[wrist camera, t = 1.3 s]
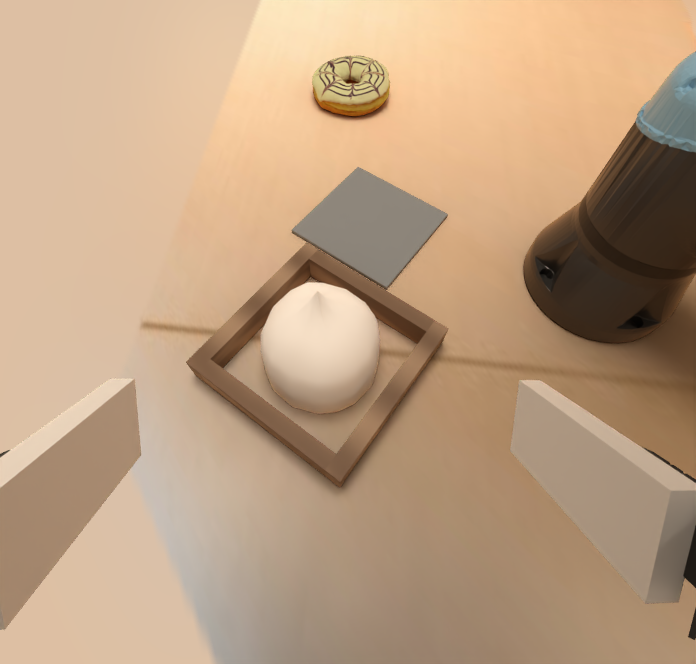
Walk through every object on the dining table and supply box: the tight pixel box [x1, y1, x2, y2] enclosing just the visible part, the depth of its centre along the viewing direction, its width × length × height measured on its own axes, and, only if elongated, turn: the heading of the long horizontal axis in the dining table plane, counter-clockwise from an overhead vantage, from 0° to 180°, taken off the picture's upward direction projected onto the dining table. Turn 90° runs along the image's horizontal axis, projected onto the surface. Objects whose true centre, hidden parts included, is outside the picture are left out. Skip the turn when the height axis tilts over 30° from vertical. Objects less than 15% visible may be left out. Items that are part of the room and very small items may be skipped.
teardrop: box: [261, 282, 380, 414], centre depth 36 cm, size 11×11×12 cm
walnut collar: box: [186, 243, 448, 487], centre depth 40 cm, size 17×17×3 cm
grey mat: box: [292, 167, 448, 289], centre depth 50 cm, size 13×13×1 cm
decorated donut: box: [312, 56, 390, 116], centre depth 60 cm, size 10×11×4 cm
